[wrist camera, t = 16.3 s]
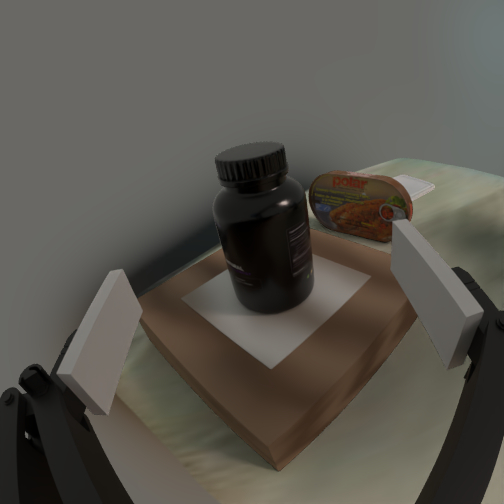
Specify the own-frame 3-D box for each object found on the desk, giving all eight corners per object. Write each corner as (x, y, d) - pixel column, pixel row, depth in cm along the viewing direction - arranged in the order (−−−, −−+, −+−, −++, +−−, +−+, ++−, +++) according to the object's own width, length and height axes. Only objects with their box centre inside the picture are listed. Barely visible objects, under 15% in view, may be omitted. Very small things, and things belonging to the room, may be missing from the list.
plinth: (280, 251, 41) (274, 216, 39) (422, 309, 27) (429, 267, 25) (148, 338, 32) (129, 302, 29) (278, 471, 17) (267, 445, 15)
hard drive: (395, 203, 45) (434, 183, 49) (359, 190, 51) (400, 172, 55) (395, 213, 45) (434, 191, 49) (359, 199, 52) (400, 180, 56)
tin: (310, 225, 46) (303, 171, 42) (321, 216, 48) (315, 164, 44) (406, 249, 36) (408, 186, 32) (413, 237, 38) (415, 177, 34)
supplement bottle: (222, 310, 26) (178, 170, 20) (255, 263, 31) (227, 141, 25) (302, 323, 23) (278, 162, 17) (324, 269, 28) (309, 134, 22)
